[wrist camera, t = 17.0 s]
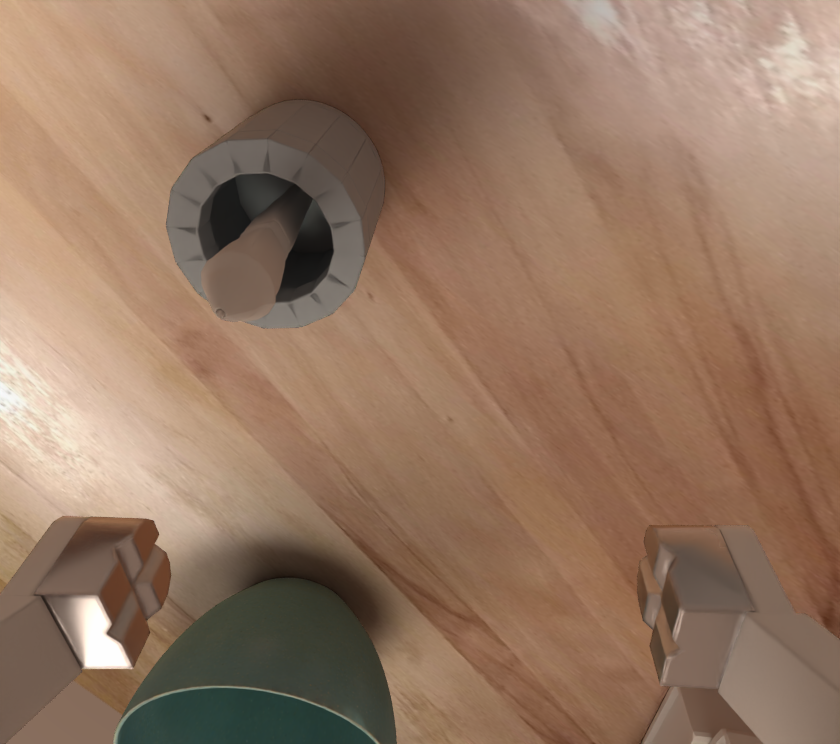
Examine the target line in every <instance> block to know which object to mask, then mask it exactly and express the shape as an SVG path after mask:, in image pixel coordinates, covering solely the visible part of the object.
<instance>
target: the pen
mask: <svg viewBox="0 0 840 744" xmlns="http://www.w3.org/2000/svg"><path fill="white" fill-rule="evenodd" d="M312 200H313V198H312V197H310V196H309V195H308V194H307V193H306V192H305V191H303V190H302V189H301V188H300V187H299V186H297V185H296V184H294V185H292V186H291V187H290V188H289V189H288V190H287V191H286V192H285V193H284V194H283V195H282V196H281V197H279V198H278V199H277V200H275V201H274V202H273V203H272V204H271V205H270V206H269V207H268V208H267V209H265V210H264V211H263V212H262V213H260V214H259V215H258V216H257V217H255V218H254V220H253V221H252V222H251V223H250V225H249V226H248V227H247V228H246V229H245V231H244V232H243V233H242V234H241V235H240V238H238V239H237V240H235V241H233V242H231V243H230V244H228V245H227V246H226V247H224V248H223V249H222V250H221V251H220V252H218V253H217V254H216V255H215V256H213V257H212V258H211V259H209V260H208V261H207V262H206V264H205V266H204V268H203V269H202V271H201V282H202V287H203V290H204V292H205V294H206V296H207V299H208V302H209V304H210V306H211V308H212V310H213V312H214V313H215V315H216V316H217V317H218V318H220V319H221V320H225V321H230V322H238V321H241V322H248V321H254V320H258V319H260V318H262V317H263V316H265V315H267V314H268V313H269V312H270V311H271V309H272V307H273V306H274V304H275V302H276V294H277V293H278V291H279V288H280V285H281V281H282V277H283V273H284V268H285V260H286V258H287V257H288V253H289V252H290V251H291V249H292V247H293V245H294V243H295V240H296V238H297V235H298V233H299V230H300V228H301V225H302V223H303V220H304V218H305V216H306V213H307V211H308V209H309V207H310V205H311V203H312Z"/></svg>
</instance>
